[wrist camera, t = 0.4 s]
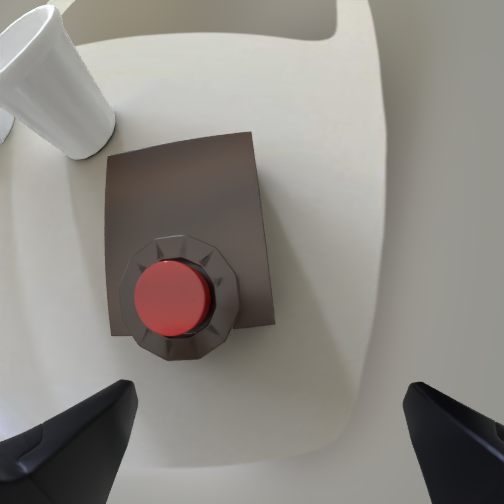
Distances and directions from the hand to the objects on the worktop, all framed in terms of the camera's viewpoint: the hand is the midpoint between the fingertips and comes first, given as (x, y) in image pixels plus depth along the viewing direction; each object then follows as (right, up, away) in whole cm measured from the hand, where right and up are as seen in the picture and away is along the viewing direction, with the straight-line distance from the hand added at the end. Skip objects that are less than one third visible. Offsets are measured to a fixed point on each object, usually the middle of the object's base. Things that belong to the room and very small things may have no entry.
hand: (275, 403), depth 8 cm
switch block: (-5, +5, +14) cm, 16 cm away
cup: (-17, +16, +16) cm, 28 cm away
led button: (-5, +2, +7) cm, 9 cm away
